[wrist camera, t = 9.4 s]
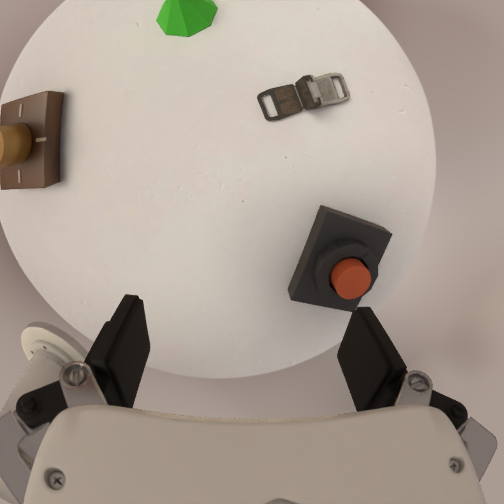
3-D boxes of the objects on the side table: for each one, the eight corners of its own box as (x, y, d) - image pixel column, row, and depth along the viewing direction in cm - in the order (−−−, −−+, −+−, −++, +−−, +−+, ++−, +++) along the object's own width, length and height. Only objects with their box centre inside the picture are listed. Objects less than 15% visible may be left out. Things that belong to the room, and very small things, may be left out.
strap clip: (338, 72, 21) (355, 63, 17) (349, 100, 22) (368, 96, 18) (254, 94, 22) (258, 86, 18) (266, 123, 23) (272, 121, 19)
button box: (347, 301, 32) (359, 321, 28) (287, 289, 30) (293, 310, 27) (383, 227, 28) (401, 240, 24) (320, 204, 27) (333, 216, 23)
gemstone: (158, 44, 19) (137, 23, 13) (155, -1, 16) (137, -27, 11) (220, 31, 19) (216, 5, 13) (214, -14, 16) (209, -44, 11)
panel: (62, 181, 24) (46, 188, 21) (14, 183, 23) (-2, 190, 20) (65, 92, 20) (49, 90, 17) (15, 104, 19) (-1, 105, 16)
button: (354, 292, 27) (360, 302, 25) (324, 286, 26) (330, 295, 25) (369, 262, 25) (377, 270, 24) (339, 253, 25) (345, 262, 23)
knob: (25, 114, 17) (-5, 116, 13) (37, 148, 19) (6, 155, 15) (3, 138, 18) (-26, 145, 14) (14, 171, 20) (-15, 181, 15)
